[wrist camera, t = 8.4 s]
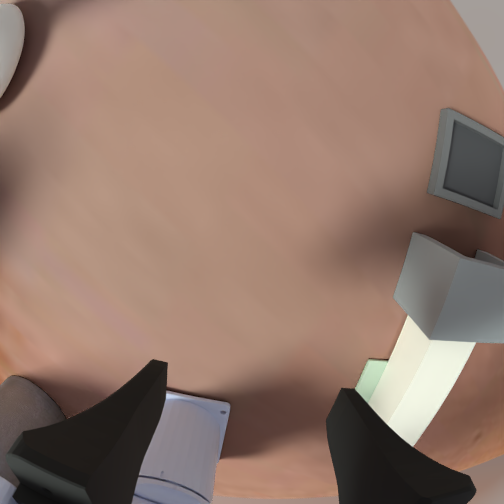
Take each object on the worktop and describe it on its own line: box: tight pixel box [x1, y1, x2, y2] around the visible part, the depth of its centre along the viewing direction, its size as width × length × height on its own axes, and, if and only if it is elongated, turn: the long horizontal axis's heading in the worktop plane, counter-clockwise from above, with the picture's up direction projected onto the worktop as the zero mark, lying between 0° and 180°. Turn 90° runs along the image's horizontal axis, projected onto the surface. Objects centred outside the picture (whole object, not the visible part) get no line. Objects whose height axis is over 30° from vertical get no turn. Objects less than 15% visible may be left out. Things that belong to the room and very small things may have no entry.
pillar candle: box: [0, 376, 66, 488], centre depth 19 cm, size 10×10×15 cm
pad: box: [355, 359, 389, 403], centre depth 24 cm, size 8×8×1 cm
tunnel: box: [393, 232, 504, 343], centre depth 18 cm, size 5×8×6 cm, turn 80°
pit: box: [427, 108, 504, 219], centre depth 18 cm, size 6×7×1 cm
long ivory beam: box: [368, 315, 476, 447], centre depth 21 cm, size 12×4×4 cm, turn 170°
